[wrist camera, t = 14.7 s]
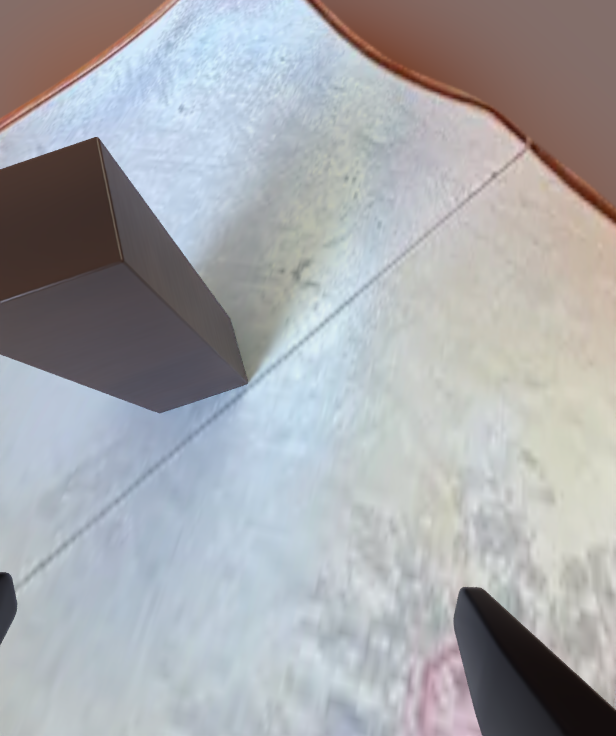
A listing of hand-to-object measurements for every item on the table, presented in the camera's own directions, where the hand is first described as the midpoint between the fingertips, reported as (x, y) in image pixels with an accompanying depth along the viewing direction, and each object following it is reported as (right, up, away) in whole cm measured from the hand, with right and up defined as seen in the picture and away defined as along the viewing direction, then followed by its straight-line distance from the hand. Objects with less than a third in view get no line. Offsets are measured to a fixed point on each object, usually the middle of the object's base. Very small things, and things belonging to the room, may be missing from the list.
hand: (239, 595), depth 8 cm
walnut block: (-5, +5, +14) cm, 16 cm away
